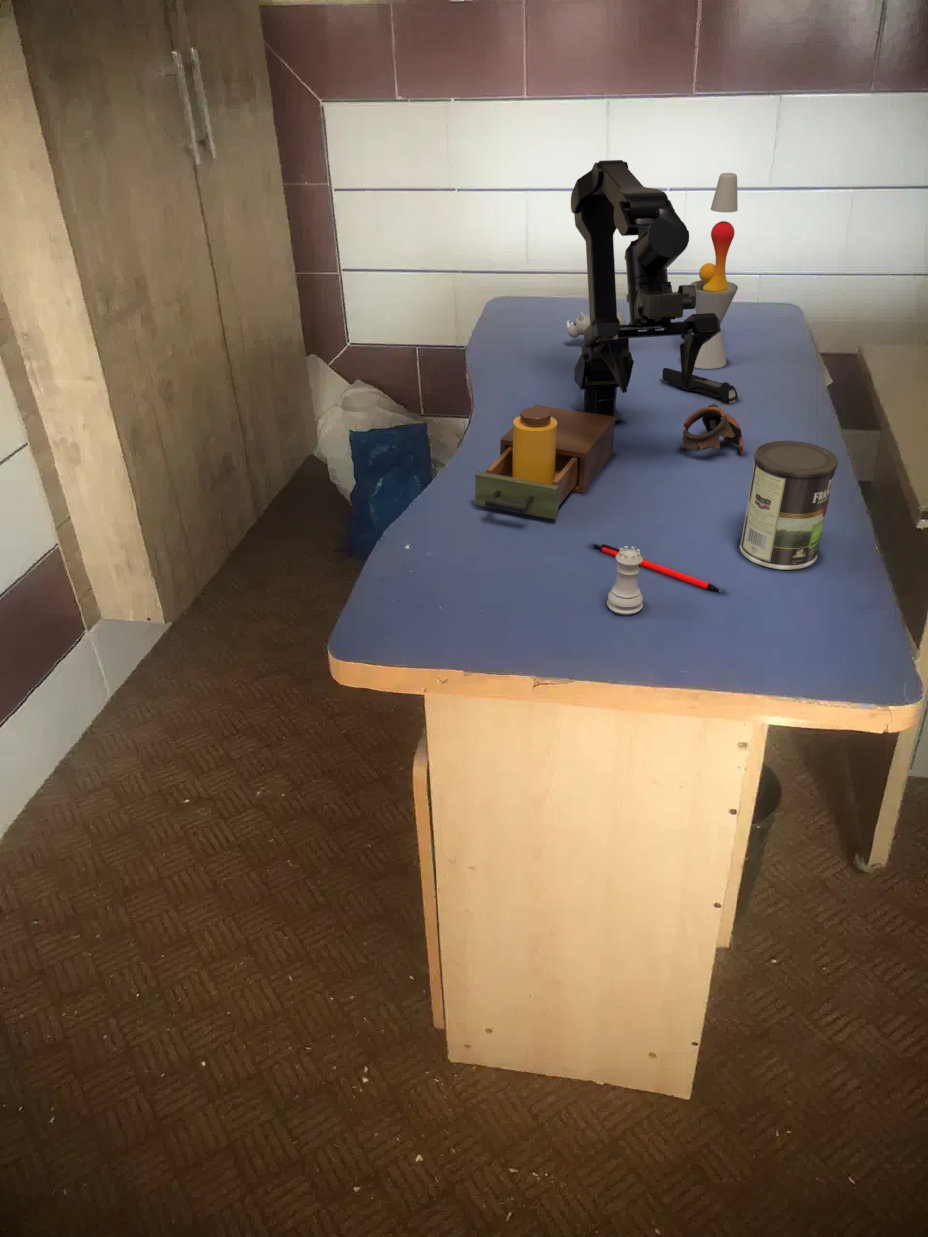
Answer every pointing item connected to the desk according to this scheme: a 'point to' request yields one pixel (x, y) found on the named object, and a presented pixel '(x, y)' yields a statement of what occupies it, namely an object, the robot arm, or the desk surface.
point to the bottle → (534, 445)
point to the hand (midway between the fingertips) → (655, 390)
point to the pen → (662, 569)
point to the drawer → (525, 487)
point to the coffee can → (787, 504)
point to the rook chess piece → (626, 583)
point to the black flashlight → (702, 385)
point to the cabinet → (579, 441)
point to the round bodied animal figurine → (585, 324)
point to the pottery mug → (712, 430)
